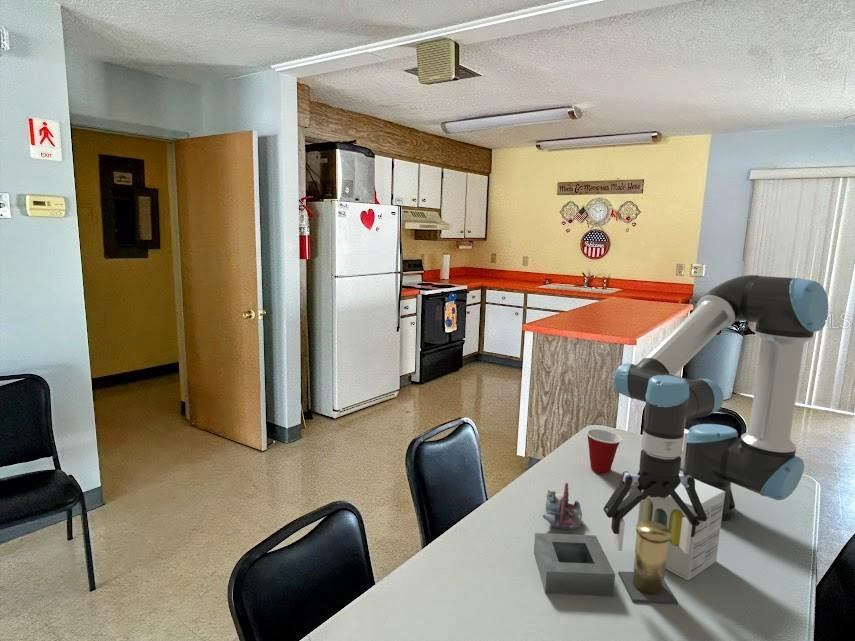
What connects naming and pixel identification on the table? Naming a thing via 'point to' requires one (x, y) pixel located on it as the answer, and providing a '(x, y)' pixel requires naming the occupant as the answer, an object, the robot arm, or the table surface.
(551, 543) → the housing
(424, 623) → the table surface
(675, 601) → the mat
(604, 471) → the plastic cup
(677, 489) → the supplement box
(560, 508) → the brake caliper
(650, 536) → the end cover
